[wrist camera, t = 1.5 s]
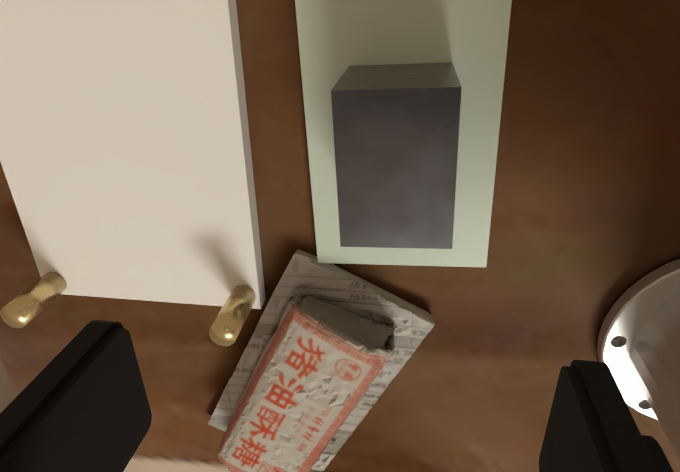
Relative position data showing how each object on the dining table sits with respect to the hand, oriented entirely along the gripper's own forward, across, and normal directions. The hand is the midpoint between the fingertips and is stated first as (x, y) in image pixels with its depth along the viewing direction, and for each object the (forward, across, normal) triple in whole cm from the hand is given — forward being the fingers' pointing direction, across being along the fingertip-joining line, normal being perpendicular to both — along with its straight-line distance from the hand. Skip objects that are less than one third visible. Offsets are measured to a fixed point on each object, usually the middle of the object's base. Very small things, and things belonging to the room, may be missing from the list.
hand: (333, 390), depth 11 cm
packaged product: (+19, +5, +17) cm, 26 cm away
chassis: (+18, +15, 0) cm, 24 cm away
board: (+19, -1, -1) cm, 19 cm away
